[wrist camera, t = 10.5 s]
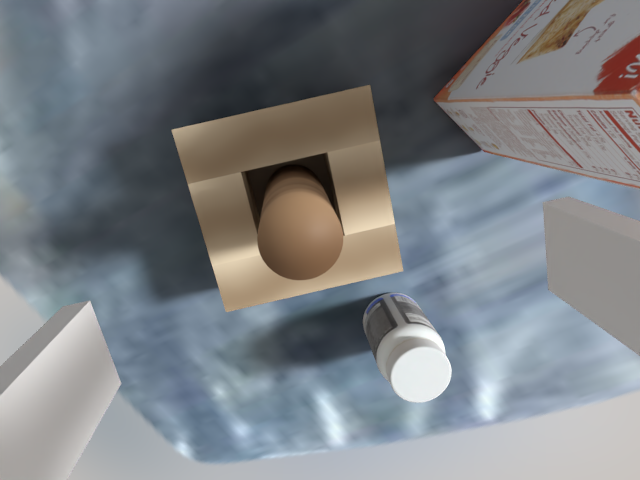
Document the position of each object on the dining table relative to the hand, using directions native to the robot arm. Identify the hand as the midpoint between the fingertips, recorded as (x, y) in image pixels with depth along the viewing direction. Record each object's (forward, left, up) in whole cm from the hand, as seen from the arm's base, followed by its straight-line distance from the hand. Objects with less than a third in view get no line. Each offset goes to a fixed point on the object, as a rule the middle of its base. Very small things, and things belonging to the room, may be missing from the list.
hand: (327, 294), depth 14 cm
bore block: (+1, -1, -22) cm, 22 cm away
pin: (+1, -1, -21) cm, 21 cm away
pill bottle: (+12, +5, -22) cm, 26 cm away
